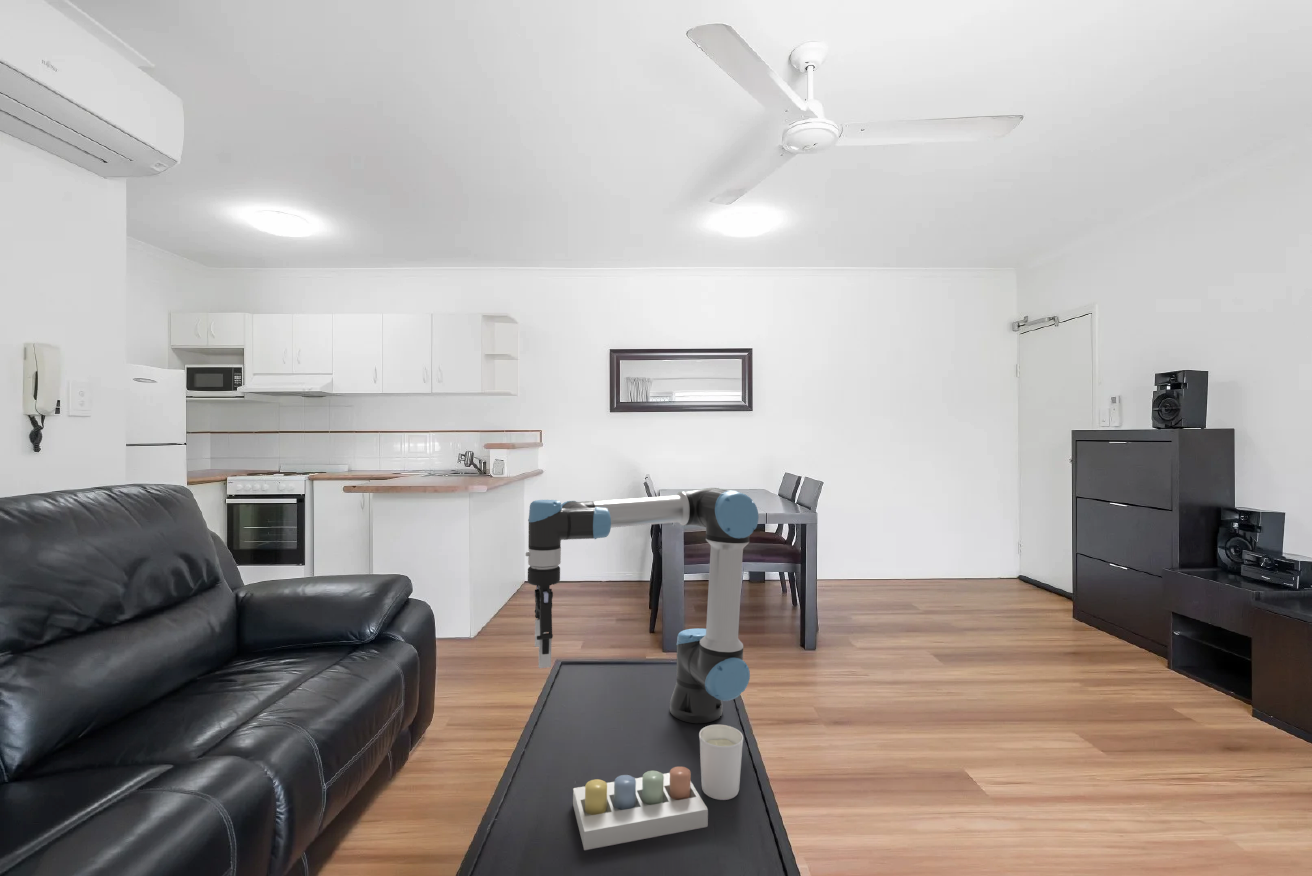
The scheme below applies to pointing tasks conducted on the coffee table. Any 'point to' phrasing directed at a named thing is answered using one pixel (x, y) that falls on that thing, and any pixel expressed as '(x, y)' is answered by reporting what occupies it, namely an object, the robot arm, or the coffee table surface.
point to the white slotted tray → (638, 817)
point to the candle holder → (720, 761)
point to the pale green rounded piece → (652, 787)
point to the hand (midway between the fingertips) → (542, 656)
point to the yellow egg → (595, 797)
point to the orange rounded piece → (680, 783)
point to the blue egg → (624, 792)
